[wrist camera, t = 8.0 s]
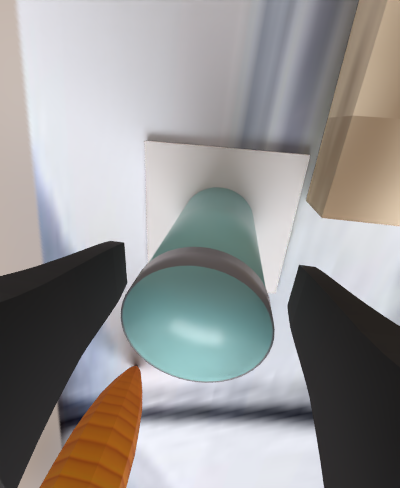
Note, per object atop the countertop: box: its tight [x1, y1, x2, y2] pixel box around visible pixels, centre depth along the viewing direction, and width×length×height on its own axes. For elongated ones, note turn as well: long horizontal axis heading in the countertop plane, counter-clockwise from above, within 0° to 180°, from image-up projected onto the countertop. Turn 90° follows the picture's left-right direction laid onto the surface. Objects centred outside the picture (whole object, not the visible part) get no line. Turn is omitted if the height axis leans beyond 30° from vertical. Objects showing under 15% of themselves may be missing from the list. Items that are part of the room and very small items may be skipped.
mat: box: [144, 141, 310, 294], centre depth 16 cm, size 9×9×1 cm
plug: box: [121, 187, 274, 383], centre depth 11 cm, size 4×4×9 cm
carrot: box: [40, 366, 142, 488], centre depth 16 cm, size 5×5×15 cm
